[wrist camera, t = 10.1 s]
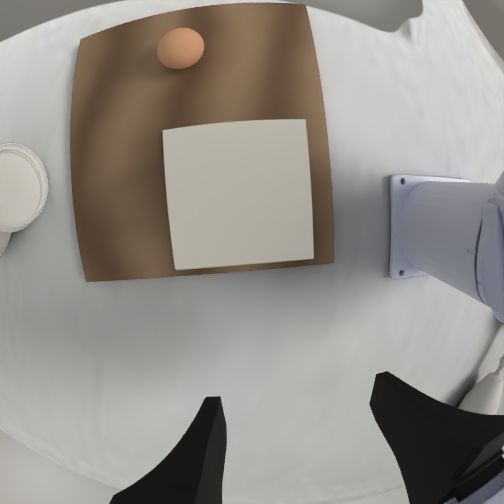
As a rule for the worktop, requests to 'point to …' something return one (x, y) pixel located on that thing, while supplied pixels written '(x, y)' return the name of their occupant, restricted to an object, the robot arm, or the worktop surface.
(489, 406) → the chalice
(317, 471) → the worktop surface
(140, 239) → the walnut board
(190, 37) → the terracotta ball
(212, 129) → the rounded beige cube
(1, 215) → the spread jar
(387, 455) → the worktop surface
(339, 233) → the worktop surface
